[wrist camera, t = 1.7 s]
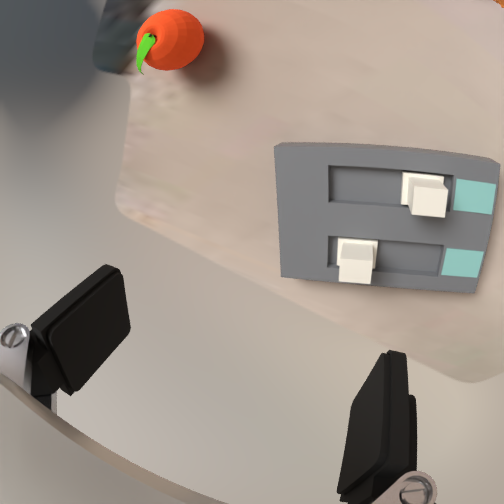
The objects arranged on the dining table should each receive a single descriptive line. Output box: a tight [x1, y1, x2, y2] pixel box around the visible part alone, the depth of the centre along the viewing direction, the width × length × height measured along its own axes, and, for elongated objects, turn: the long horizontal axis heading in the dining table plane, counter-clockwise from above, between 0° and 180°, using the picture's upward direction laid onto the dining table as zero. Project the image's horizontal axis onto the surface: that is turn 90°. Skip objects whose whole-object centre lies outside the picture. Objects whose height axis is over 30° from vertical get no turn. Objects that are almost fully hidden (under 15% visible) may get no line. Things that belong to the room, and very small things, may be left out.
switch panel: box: [274, 143, 500, 293], centre depth 29 cm, size 22×14×3 cm, turn 95°
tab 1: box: [337, 236, 378, 284], centre depth 29 cm, size 4×3×4 cm
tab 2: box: [400, 171, 448, 218], centre depth 24 cm, size 4×3×4 cm
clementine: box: [137, 9, 204, 75], centre depth 26 cm, size 8×7×7 cm
